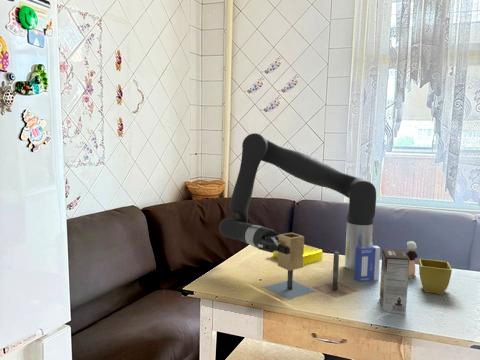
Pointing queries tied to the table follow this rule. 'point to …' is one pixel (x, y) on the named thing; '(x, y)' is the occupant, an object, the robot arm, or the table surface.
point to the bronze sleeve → (291, 251)
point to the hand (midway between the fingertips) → (295, 249)
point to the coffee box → (394, 280)
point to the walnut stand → (335, 282)
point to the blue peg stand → (289, 288)
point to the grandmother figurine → (412, 258)
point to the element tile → (307, 255)
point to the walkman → (367, 263)
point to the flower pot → (434, 275)
